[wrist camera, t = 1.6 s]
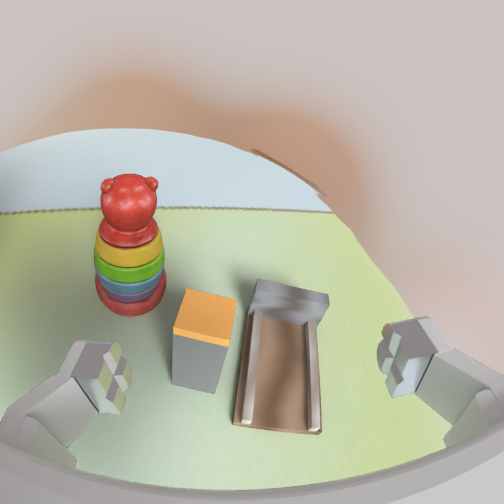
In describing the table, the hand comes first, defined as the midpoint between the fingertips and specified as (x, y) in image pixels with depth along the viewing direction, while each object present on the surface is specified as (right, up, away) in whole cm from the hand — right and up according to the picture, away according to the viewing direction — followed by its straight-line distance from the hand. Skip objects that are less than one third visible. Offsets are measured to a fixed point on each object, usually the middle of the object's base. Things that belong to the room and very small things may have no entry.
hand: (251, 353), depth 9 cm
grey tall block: (-6, -11, +25) cm, 28 cm away
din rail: (+4, -12, +28) cm, 30 cm away
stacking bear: (-17, -3, +32) cm, 37 cm away
